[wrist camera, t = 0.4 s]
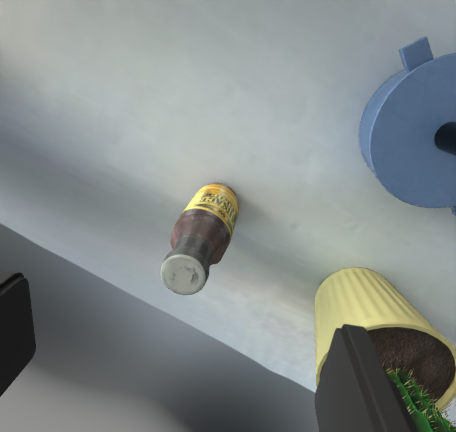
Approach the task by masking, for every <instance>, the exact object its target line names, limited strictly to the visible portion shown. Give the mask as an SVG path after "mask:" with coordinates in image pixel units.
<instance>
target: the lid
mask: <svg viewBox="0 0 456 432" xmlns="http://www.w3.org/2000/svg"><path fill="white" fill-rule="evenodd" d="M369 157H370V162H371V165H372V168H373V171H374V173H375V175H376V177H377V179H378V180H379V181H380V183H381V184H382V185H383V186H384V187H385V189H386V190H387V191H389V192H390V193H391V194H392V195H394V196H395V197H396V198H398V199H400V200H402V201H404V202H406V203H409V204H411V205H415V206H419V207H426V208H443V207H451V206H455V205H456V53H454V54H448V55H444V56H441V57H438V58H435V59H433V60H430V61H428V62H426V63H424V64H422V65H420V66H419V67H417V68H415V69H414V70H412V71H411V72H410V73H408V74H407V75H405V76H404V77H403V78H402V79H401V80H400V81H399V82H398V83H397V84H396V85H395V86H394V87H393V88H392V89H391V90H390V91H389V93H388V94H387V95H386V97H385V98H384V100H383V101H382V103H381V104H380V106H379V108H378V110H377V112H376V114H375V117H374V120H373V122H372V126H371V130H370V135H369Z"/></svg>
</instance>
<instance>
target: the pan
mask: <svg viewBox="0 0 456 432" xmlns="http://www.w3.org/2000/svg"><path fill="white" fill-rule="evenodd" d="M399 53H400V56H401V59H402V62H403V65H404V68H405V70H403V71H401V72H399V73H397V74H396V75H394V76H392V77H391V78H390V79H389V80H387V81H386V82H385V83H384V84H383V85H382V86H381V87H380V88H379V89H378V90H377V91H376V93H375V94H374V95H373V96H372V98H371V99H370V101H369V102H368V104H367V106H366V108H365V110H364V113H363V116H362V119H361V123H360V128H359V144H360V149H361V153H362V156H363V158H364V160H365V162H366V164H367V166H368V167H369V168H370V169H371V170H372V171H373V168H372V165H371V162H370V157H369V135H370V130H371V126H372V122H373V120H374V117H375V114H376V112H377V110H378V108H379V106H380V104H381V103H382V101H383V100H384V98H385V97H386V95H387V94H388V93H389V91H390V90H391V89H392V88H393V87H394V86H395V85H396V84H397V83H398V82H399V81H400V80H401V79H402V78H403V77H404V76H405V75H407V74H408V73H410V72H411V71H412V70H414V69H415V68H417V67H419V66H420V65H422V64H424V63H426V62H428V61H430V60H433V56H432V53H431V50H430V46H429V43H428V40H427V37H423V38H420V39H419V40H417V41H415V42H413V43H411V44H409V45H407V46H405V47H404V48H402V49H400V50H399ZM373 172H374V171H373ZM451 210H452V213H453V214H454V215H455V216H456V205H455V206H451Z"/></svg>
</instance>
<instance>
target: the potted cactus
mask: <svg viewBox="0 0 456 432" xmlns="http://www.w3.org/2000/svg"><path fill="white" fill-rule="evenodd" d="M343 324H350V325H356V326H362V327H365V329H366V330H367V332H368V335H369V337H370V339H371V341H372V344H373V346H374V348H375V351H376V353H377V355H378V357H379V360H380V362H381V364H382V367H383V369H384V371H385V373H386V376H387V378H388V379H391V380H393V381H394V382H395V384H396V385H397V387H398V389H399V391H400V393H401V396H402V398H403V400H404V402H405V404H406V407H407V409H408V411H409V413H410V415H411V417H412V420H413V422H414V424H415V426H416V428H417V431H418V432H456V427H455V426H453V425H451V424H456V423H452V422H449V421H447V420H446V417H447V416H446V414H447V413H446V412H447V411H446V410H445V412H444V411H443V410H444V409H446V408H447V407H446V406H447V405H448V404H449V403H450V402H451V401H452V400H453V399H454V397H455V396H456V349H455V348H454V346H453V345H452V344H451V343H450V342H449V341H448V340H447V339H445V338H444V337H443V336H442V335H441V334H440V333H439V332H438V331H437V330H436V329H435V328H434V327H433V326H432V325H431V324H430V323H429V322H428V321H427V320H426V319H425V318H424V317H423V316H422V315H421V314H420V313H419V312H418V311H417V310H416V309H415V308H414V307H413V306H412V305H411V304H410V303H409V302H408V301H407V300H406V299H405V298H404V297H403V296H402V295H401V294H400V293H399V292H398V291H397V290H396V289H395V288H394V287H393V286H392V285H391V284H390V283H389V282H388V281H387V280H386V279H384V278H383V277H382V276H381V275H379V274H378V273H376V272H374V271H372V270H369V269H365V268H347V269H343V270H340V271H337V272H335V273H333V274H332V275H330V276H329V277H327V278H326V279H325V280H324V281H323V282H322V283H321V285H320V286H319V288H318V290H317V293H316V297H315V337H316V385H317V387H318V384H319V380H320V377H321V374H322V371H323V367H324V364H325V361H326V358H327V354H328V351H329V348H330V345H331V341H332V338H333V335H334V332H335V329H336V328H341V327H342V326H343ZM449 406H450V405H449ZM445 407H446V408H445ZM442 411H443V412H442ZM448 411H449V410H448ZM441 412H442V413H445V418H442V416H441V414H442V413H441ZM454 422H455V421H454ZM450 423H451V424H450Z"/></svg>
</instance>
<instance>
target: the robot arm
mask: <svg viewBox="0 0 456 432" xmlns="http://www.w3.org/2000/svg"><path fill="white" fill-rule="evenodd" d="M35 349H36V344H35V335H34V326H33V318H32V309H31V300H30V292H29V284H28V280H27V279H26V278H24V276H23V274H22V273H19V272H14V271H8V270H0V396H1V395H2V394H3V393H4V392H5V391H6V389H7V388H8V387H9V386H10V385H11V383H12V382H13V381H14V380H15V378H16V377H17V376H18V375H19V374H20V372H21V371H22V370H23V369H24V368H25V366H26V365H27V364H28V363H29V362H30V360H31V359H32V358H33V355H34V353H35ZM315 409H316V414H317V420H318V426H319V431H320V432H418V431H417V428H416V426H415V424H414V422H413V420H412V417H411V415H410V413H409V411H408V409H407V407H406V404H405V402H404V400H403V398H402V396H401V393H400V391H399V389H398V387H397V385H396V384H395V382H394V381H393V380H391V379H388V378H387V376H386V373H385V371H384V369H383V367H382V364H381V362H380V360H379V357H378V355H377V353H376V351H375V348H374V346H373V344H372V341H371V339H370V337H369V335H368V332H367V330H366V329H365V327H362V326H356V325H350V324H343V326H342V327H341V328H336V329H335V332H334V335H333V338H332V341H331V345H330V348H329V351H328V354H327V358H326V361H325V364H324V367H323V371H322V374H321V377H320V380H319V384H318V387H317V390H316V394H315Z"/></svg>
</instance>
